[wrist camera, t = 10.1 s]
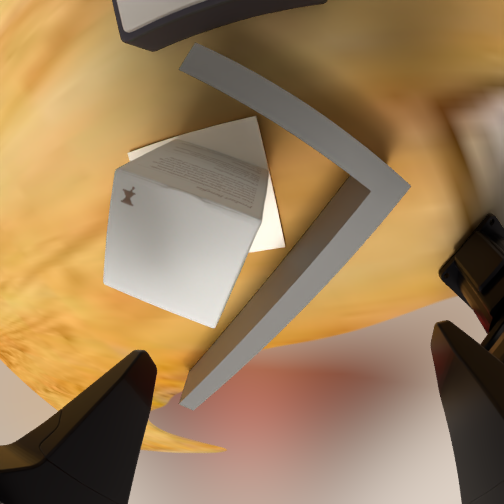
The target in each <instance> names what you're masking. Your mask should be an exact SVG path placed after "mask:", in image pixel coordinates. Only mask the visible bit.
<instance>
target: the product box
mask: <svg viewBox="0 0 504 504" xmlns="http://www.w3.org/2000/svg"><path fill="white" fill-rule="evenodd" d="M268 178H269V171H268V170H266V169H264V168H261V167H259V166H256V165H254V164H251V163H248V162H246V161H243V160H240V159H238V158H235V157H232V156H229V155H226V154H223V153H220V152H217V151H214V150H211V149H208V148H205V147H202V146H199V145H196V144H193V143H190V142H186V141H182V140H179V139H174V140H172V141H170V142H168V143H166V144H164V145H162V146H160V147H158V148H156V149H154V150H152V151H150V152H148V153H146V154H144V155H142V156H140V157H138V158H136V159H134V160H132V161H130V162H128V163H127V164H125V165H123V166H121V167H119V168H117V169H116V171H115V175H114V182H113V188H112V195H111V202H110V210H109V219H108V228H107V238H106V250H105V263H104V279H103V282H104V284H105V285H107V286H109V287H112V288H114V289H117V290H119V291H121V292H124V293H126V294H128V295H131V296H133V297H135V298H138V299H140V300H142V301H145V302H147V303H149V304H152V305H154V306H157V307H160V308H162V309H165V310H167V311H169V312H172V313H175V314H177V315H180V316H182V317H185V318H188V319H190V320H193V321H195V322H198V323H200V324H203V325H206V326H208V327H211V328H215V327H216V325H217V323H218V321H219V319H220V317H221V314H222V312H223V310H224V308H225V305H226V303H227V301H228V299H229V296H230V294H231V292H232V289H233V287H234V285H235V283H236V280H237V278H238V276H239V274H240V271H241V269H242V267H243V264H244V262H245V259H246V257H247V255H248V252H249V250H250V248H251V246H252V243H253V241H254V239H255V236H256V234H257V232H258V230H259V228H260V226H261V223H262V219H263V210H264V204H265V199H266V194H267V187H268Z"/></svg>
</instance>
